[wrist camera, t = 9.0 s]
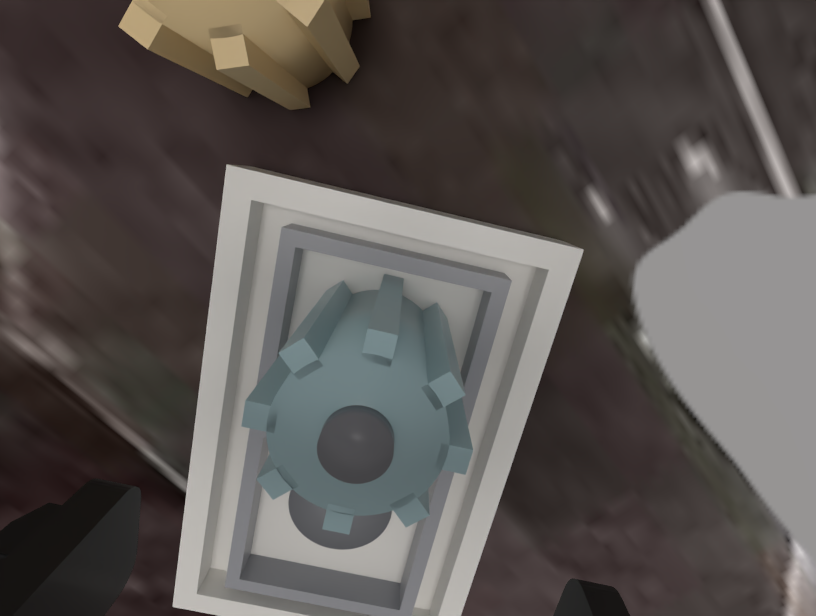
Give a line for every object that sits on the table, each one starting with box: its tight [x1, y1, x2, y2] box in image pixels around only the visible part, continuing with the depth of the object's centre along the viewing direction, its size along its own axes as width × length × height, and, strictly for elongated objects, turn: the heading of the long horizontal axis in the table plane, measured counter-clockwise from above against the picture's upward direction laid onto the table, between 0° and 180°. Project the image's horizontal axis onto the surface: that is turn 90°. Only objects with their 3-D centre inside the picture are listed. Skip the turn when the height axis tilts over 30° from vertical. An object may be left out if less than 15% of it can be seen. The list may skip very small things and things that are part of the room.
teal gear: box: [241, 274, 473, 535], centre depth 16 cm, size 6×6×8 cm
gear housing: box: [173, 164, 584, 616], centre depth 20 cm, size 20×13×2 cm, turn 167°
